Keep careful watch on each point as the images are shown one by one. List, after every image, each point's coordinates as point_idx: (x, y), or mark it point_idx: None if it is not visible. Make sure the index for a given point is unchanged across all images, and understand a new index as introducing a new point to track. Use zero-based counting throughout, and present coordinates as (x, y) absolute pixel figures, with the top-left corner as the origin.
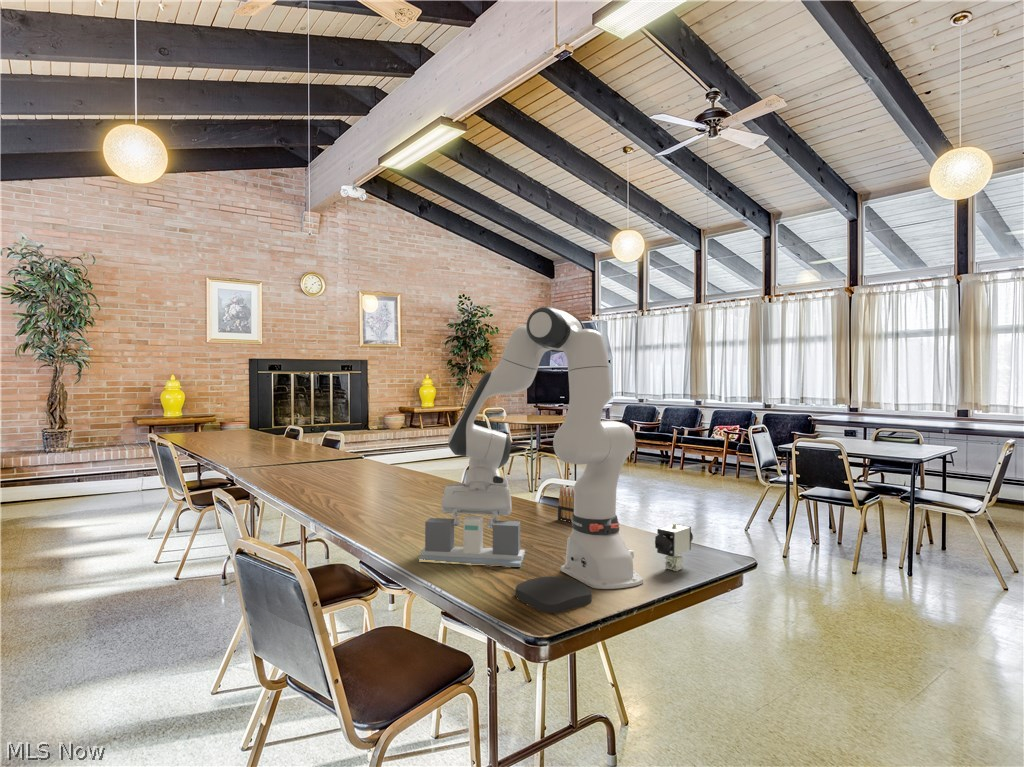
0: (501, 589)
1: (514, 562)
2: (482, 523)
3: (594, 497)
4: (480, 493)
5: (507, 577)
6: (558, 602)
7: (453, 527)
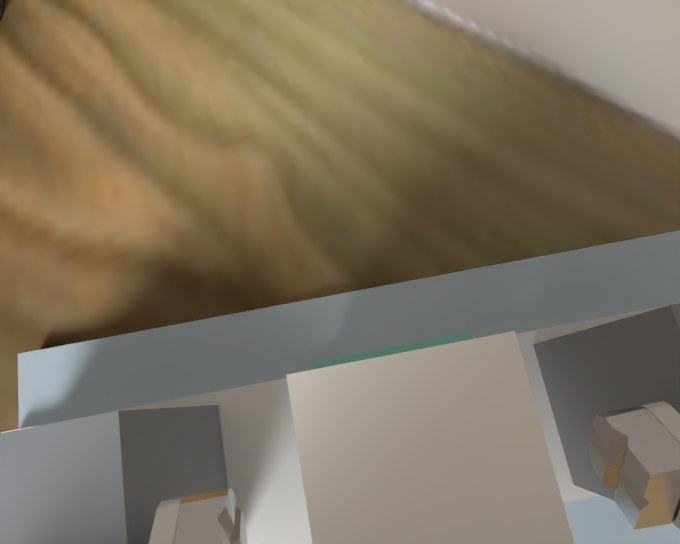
0: (78, 38)
1: (57, 359)
2: None
3: None
4: None
5: (82, 186)
6: None
7: None
